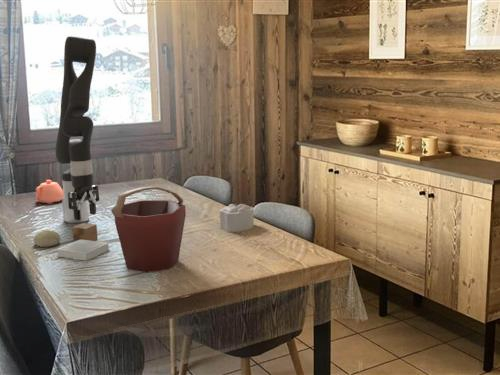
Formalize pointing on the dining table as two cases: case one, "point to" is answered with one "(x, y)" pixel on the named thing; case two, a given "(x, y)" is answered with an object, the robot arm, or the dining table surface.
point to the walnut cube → (85, 232)
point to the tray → (83, 249)
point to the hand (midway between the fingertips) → (85, 216)
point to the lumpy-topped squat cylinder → (236, 218)
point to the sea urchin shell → (46, 238)
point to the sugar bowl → (49, 192)
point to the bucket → (149, 231)
